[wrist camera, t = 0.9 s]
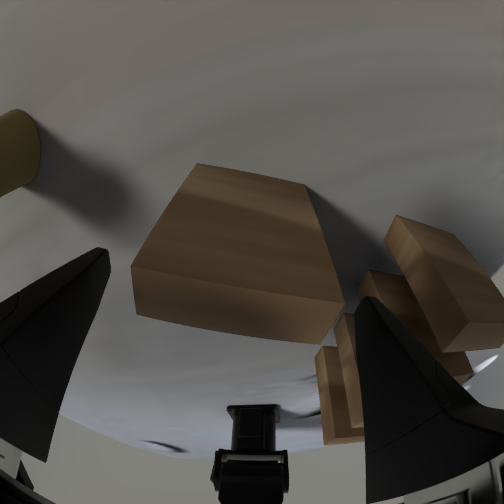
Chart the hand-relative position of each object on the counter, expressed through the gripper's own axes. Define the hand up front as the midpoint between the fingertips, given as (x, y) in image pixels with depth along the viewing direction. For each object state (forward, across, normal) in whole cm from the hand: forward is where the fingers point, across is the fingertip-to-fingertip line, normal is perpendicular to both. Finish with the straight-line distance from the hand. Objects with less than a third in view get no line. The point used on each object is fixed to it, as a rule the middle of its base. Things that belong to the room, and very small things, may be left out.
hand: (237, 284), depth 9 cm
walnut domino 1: (+8, 0, 0) cm, 8 cm away
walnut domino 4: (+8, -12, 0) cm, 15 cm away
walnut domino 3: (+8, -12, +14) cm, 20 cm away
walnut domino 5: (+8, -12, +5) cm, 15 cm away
